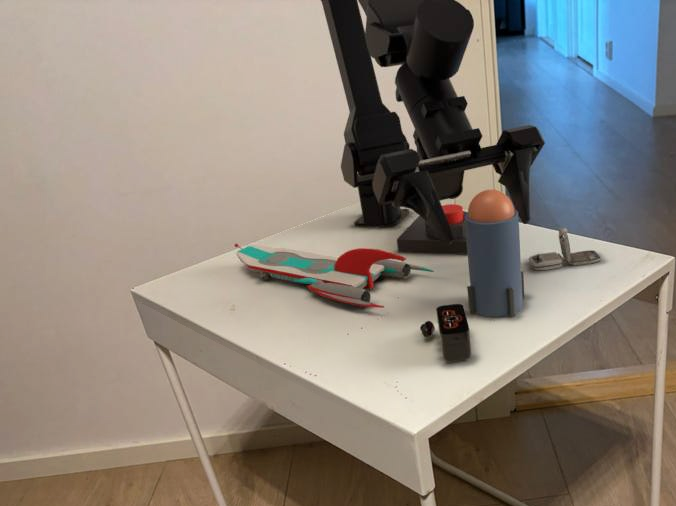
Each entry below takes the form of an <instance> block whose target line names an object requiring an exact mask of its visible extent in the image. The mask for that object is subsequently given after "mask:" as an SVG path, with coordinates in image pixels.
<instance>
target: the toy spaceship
mask: <svg viewBox="0 0 676 506" xmlns="http://www.w3.org/2000/svg"><path fill="white" fill-rule="evenodd" d="M234 247H235V248H239V250H237V251H235V254H236V256H237V258H238V259H239V261H240V262H241V263H242V264H243V266H245V267H246V268H247V269H249V270H250V271H252V272H254V273H255V272H256V273H259V276H260V278H261V280H262V281H268V280H269V278H270V277H271V278H273V279H277V280H282V281H288V282H293V283H298V284H305V285H306V284H307V285H306V288H308V289H309V290H310V291H311V292H312V293H314V294H315V295H317V296H321V297H323V298H325V299H328V300H332V301H335V302H340V303H344V304H348V305H354V306H358V307H369V308H381V309H383V308H385V305H380V304H377V303H372V302H371V299H372V295H371V292H370V291H369V289H370V290H372V289H373V288H374V283H373V282H375V281H376V280H378V279H379V278H380V276H385V277H393V278H398V279H408V278H409V276H410V275H411V273H412V272H411V271H412V270H413V271H421V272H422V271H423V272H428V273H429V272H430V273H435V271H434V270H433V269H430V268H427V267H424V266H420V265H416V264H412V263H411V264H410V263H407V262H406V260H407V258H406V257H404V256H402V255H400V254H396V253H393V252H389V251H386V250H383V249H378V248H376V249H375V248H366V247H365V248H364V247H363V248H362V247H361V248H360V247H359V248H353V249H350V250H347V251H346V252H344V253H342V254H341V255H339V257H336V256H330V255H325V254H319V253H313V252H307V251H301V250H296V249H290V248H285V247H273V246H265V245H256V244H251V245H248V246H246V247H244V248H242V247H241V246H240V245H239V243H234ZM404 261H405V262H404Z"/></svg>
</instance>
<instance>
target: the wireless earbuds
mask: <svg viewBox="0 0 676 506" xmlns="http://www.w3.org/2000/svg"><path fill="white" fill-rule="evenodd" d="M435 310H436V318H437V326H438V334H439V340H440V346H441V347H440V348H441V352H442V358H443V359H444V361H446V362H447V363H451V362H459V361H467V360H470V358H471V357H472V345H471V332H470V331H471V330H470V326H469V323H468V322H469V321H468V318H467V314H466V310H465V306H464V305H463V304H462V303H451V304H443V305H439V306H437V307H436V308H435ZM419 329H420V331H421V334H422V337H424V338H431V337H432V336H433V334H434V333H435V331H436V327H435V324H434V323H433V322H432V321H431V320H427V321H425V322H424V323H422V324H421V325H420V327H419Z"/></svg>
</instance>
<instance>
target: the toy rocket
mask: <svg viewBox="0 0 676 506" xmlns="http://www.w3.org/2000/svg"><path fill="white" fill-rule="evenodd" d="M466 212H467V213H466V214H465V216H464V220H465V231H466V242H467V254H466V255H467V263H468V265H467V266H468V275H469V276H468V277H469V285H468V286H466V291H467V292H466V293H467V300H468V301H467V302H468V312H469V313H468V314H470V315H474V314H477V315H479V316H483V317H488V318H490V317H491V318H500V317H501V318H502V317H507V316H508V317H510V318H513V317H515V316H516V313H517V312H519V311H520V310H521V309H522V308H523V303H524V302H523V301H524V300H523V299H525V298H526V297H525V296H526V295H525V277H524V276H525V275H524V272H523V270H522V262H521V260H522V259H521V242H520V241H521V239H520V238H521V237H520V222H519V221H520V217H519V215H518V211H517V210H516V209H515V207H514V204H513V202H512V200H511V198H510V197H509V196H507V194H505V193H504V192H503V191H501V190H497V189H485V190H482V191H480V192H479V193H477V194H476V195H475V196H474V197H473V198H472V199H471V201H470V203H469V205H468V209H467V211H466Z"/></svg>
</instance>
